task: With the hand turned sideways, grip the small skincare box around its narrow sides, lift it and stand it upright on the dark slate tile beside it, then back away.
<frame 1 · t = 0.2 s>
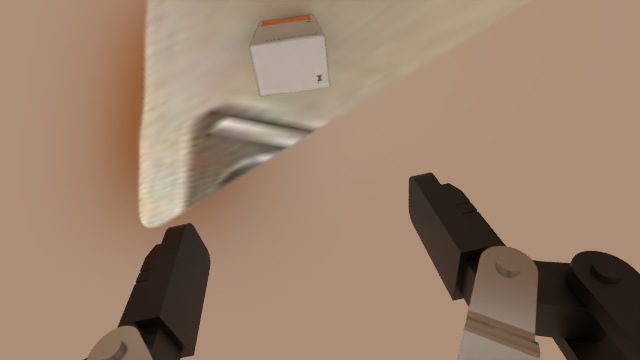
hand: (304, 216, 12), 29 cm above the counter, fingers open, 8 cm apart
skincare box: (288, 37, 35), on the counter
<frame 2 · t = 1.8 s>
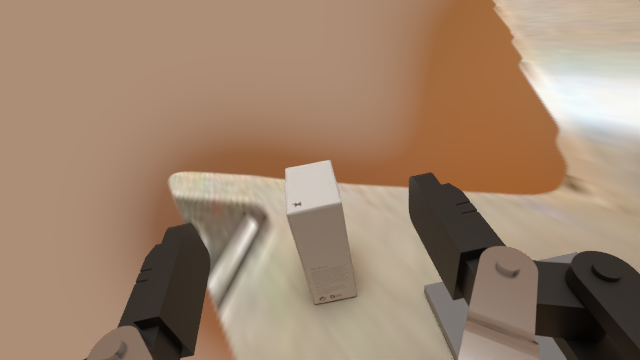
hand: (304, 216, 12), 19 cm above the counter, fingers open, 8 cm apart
skincare box: (332, 275, 32), on the counter
slate tile: (554, 354, 23), on the counter
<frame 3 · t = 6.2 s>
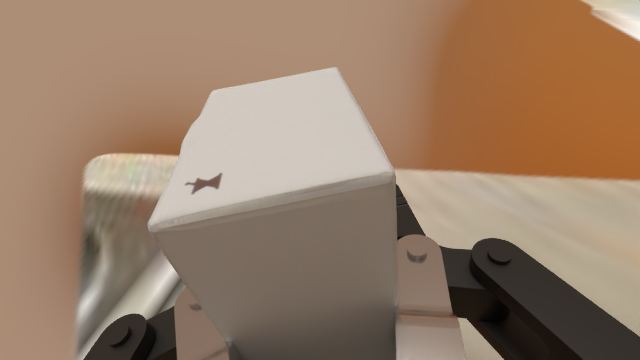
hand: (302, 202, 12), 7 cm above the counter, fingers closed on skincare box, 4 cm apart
skincare box: (338, 357, 14), on the counter, touching gripper
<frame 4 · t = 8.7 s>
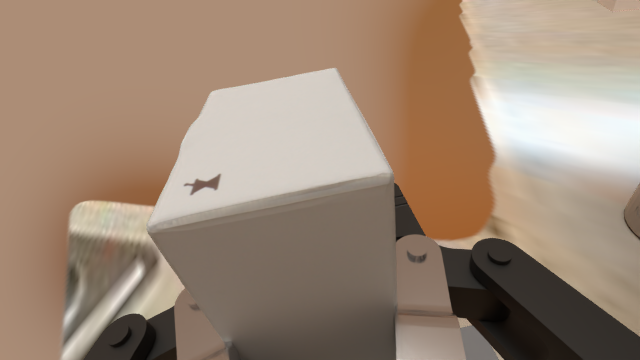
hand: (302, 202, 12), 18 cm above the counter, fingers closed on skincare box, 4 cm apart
skincare box: (337, 357, 14), point 10 cm above the counter, touching gripper
storage container: (620, 0, 84), on the counter
when the fingers open (9 cm above the counter, at t = 11.6 s): skincare box stays where it is, resting on slate tile.
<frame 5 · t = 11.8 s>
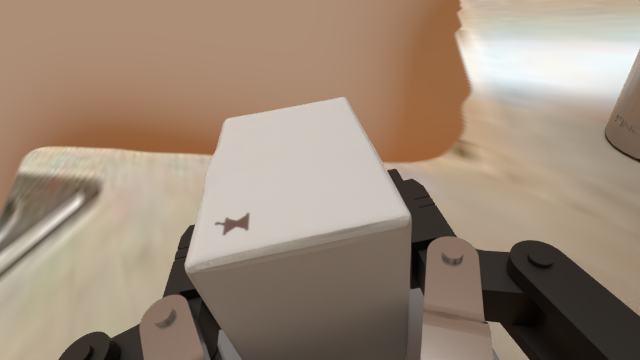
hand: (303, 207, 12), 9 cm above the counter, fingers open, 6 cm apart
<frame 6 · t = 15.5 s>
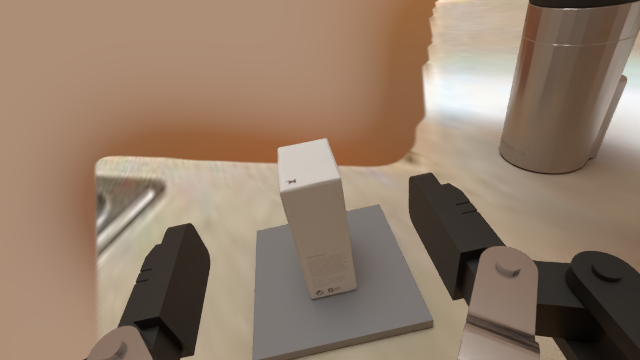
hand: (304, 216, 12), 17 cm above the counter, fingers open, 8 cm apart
skincare box: (329, 269, 30), point 1 cm above the counter, touching slate tile
slate tile: (329, 273, 30), on the counter
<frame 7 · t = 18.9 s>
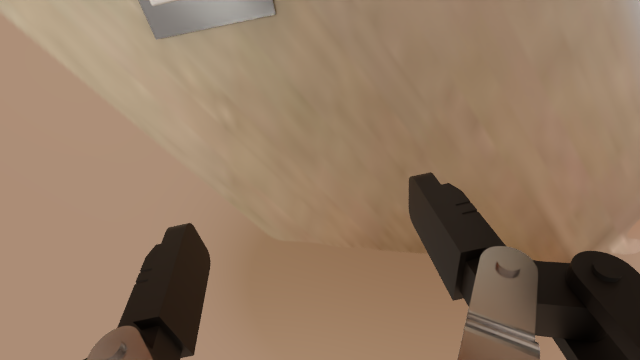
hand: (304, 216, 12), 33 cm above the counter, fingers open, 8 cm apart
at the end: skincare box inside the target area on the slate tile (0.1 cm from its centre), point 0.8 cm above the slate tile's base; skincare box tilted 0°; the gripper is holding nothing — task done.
